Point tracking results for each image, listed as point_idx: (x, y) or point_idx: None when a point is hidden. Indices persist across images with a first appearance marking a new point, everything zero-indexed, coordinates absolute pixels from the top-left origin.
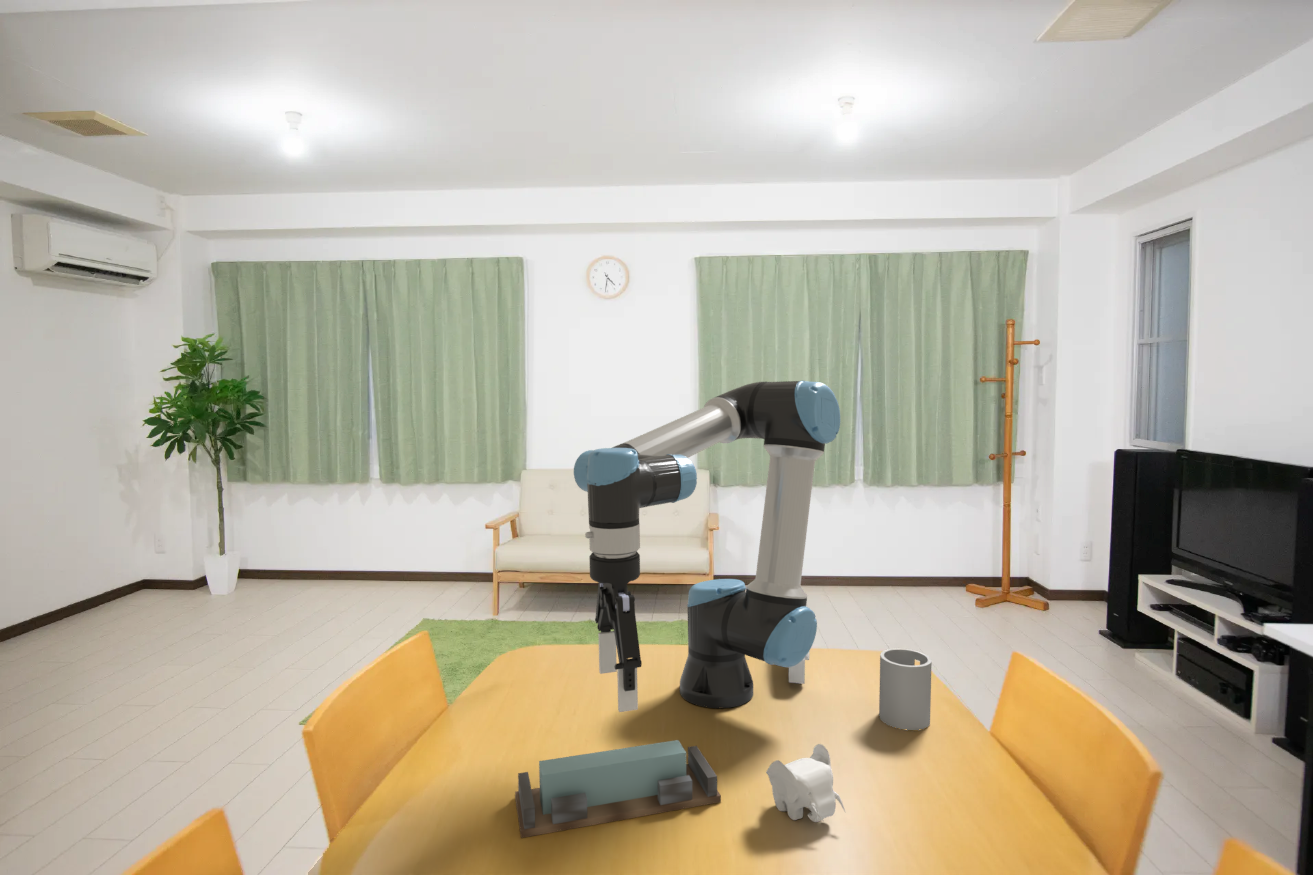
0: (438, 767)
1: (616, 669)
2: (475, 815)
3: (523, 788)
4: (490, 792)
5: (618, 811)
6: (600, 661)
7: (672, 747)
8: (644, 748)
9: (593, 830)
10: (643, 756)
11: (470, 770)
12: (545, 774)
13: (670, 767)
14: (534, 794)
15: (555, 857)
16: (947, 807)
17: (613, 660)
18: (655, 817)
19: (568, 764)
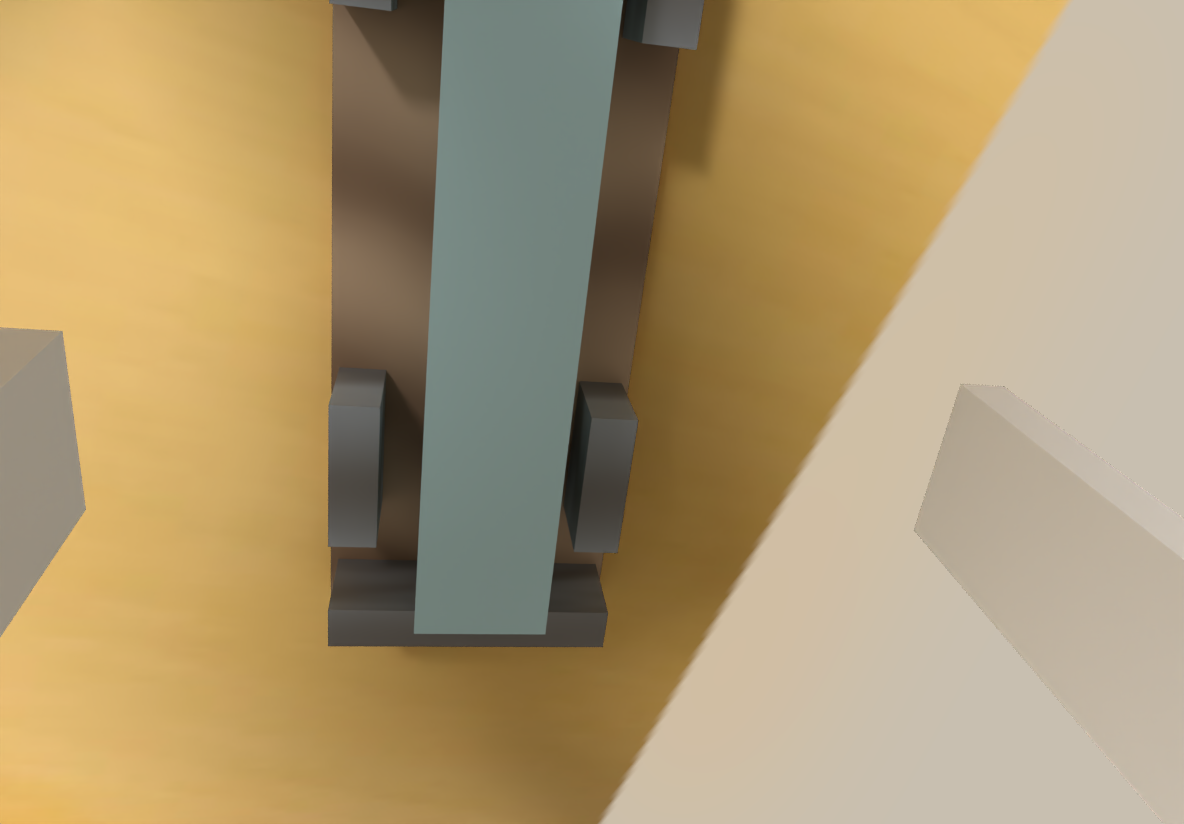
0: (16, 816)
1: (50, 342)
2: (403, 708)
3: (459, 636)
4: (264, 661)
5: (632, 251)
6: (28, 591)
7: None
8: (486, 69)
9: (659, 359)
10: (576, 113)
11: (68, 720)
12: (544, 621)
13: None
14: (377, 541)
15: (740, 507)
16: None
17: (5, 431)
18: (692, 83)
19: (499, 519)
